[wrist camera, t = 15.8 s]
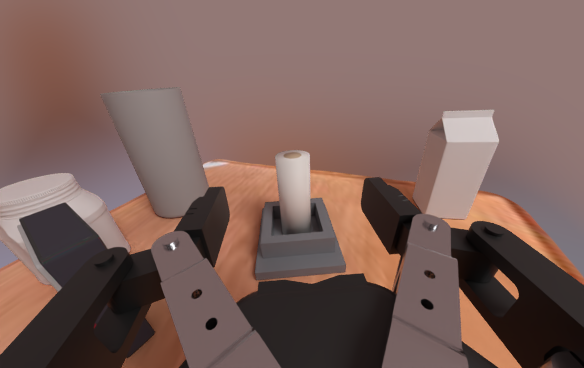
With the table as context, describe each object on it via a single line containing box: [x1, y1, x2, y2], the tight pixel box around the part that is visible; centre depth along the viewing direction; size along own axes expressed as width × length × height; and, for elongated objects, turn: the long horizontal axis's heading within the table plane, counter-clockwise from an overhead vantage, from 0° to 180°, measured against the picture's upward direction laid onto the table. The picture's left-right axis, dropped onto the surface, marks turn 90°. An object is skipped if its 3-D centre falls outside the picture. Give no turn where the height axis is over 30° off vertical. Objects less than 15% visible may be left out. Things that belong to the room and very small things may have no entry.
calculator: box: [17, 203, 155, 358], centre depth 22 cm, size 11×4×15 cm, turn 56°
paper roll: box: [275, 150, 311, 235], centre depth 33 cm, size 5×5×14 cm
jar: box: [0, 173, 131, 285], centre depth 31 cm, size 12×10×15 cm
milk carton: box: [412, 110, 499, 219], centre depth 37 cm, size 7×7×19 cm
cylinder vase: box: [100, 87, 209, 218], centre depth 44 cm, size 12×12×25 cm
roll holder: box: [255, 198, 346, 280], centre depth 36 cm, size 13×16×4 cm
